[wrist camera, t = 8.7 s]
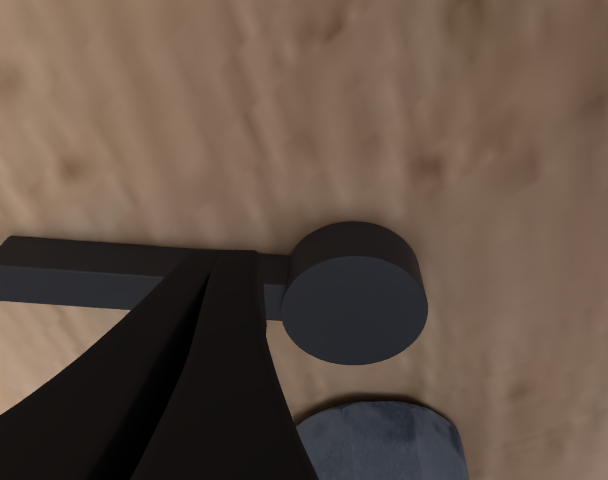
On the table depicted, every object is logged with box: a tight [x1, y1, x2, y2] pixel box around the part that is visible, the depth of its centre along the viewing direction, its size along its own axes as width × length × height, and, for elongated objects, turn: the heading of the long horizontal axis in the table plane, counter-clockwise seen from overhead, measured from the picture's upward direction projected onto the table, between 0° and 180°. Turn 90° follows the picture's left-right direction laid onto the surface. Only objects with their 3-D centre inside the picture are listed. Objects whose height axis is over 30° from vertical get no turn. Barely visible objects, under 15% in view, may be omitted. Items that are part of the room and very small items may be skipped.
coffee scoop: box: [0, 222, 428, 365], centre depth 17 cm, size 15×5×2 cm, turn 86°
